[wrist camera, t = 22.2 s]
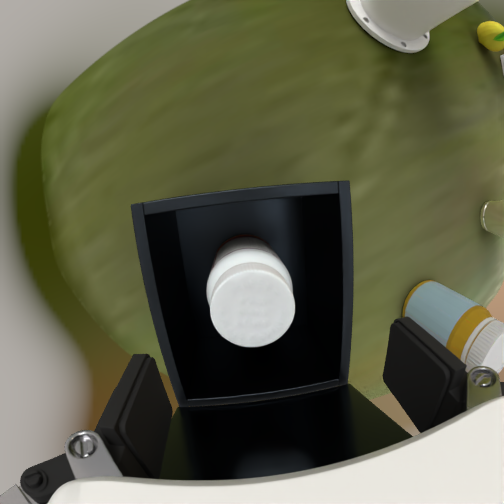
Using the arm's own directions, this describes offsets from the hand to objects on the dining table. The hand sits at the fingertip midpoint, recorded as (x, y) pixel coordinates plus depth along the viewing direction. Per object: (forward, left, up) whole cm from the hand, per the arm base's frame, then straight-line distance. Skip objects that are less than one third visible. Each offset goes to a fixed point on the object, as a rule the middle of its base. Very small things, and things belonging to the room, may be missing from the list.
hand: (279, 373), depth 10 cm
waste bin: (+1, 0, -19) cm, 19 cm away
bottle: (+9, +22, -19) cm, 30 cm away
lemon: (-33, +44, -19) cm, 58 cm away
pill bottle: (0, 0, -18) cm, 18 cm away
